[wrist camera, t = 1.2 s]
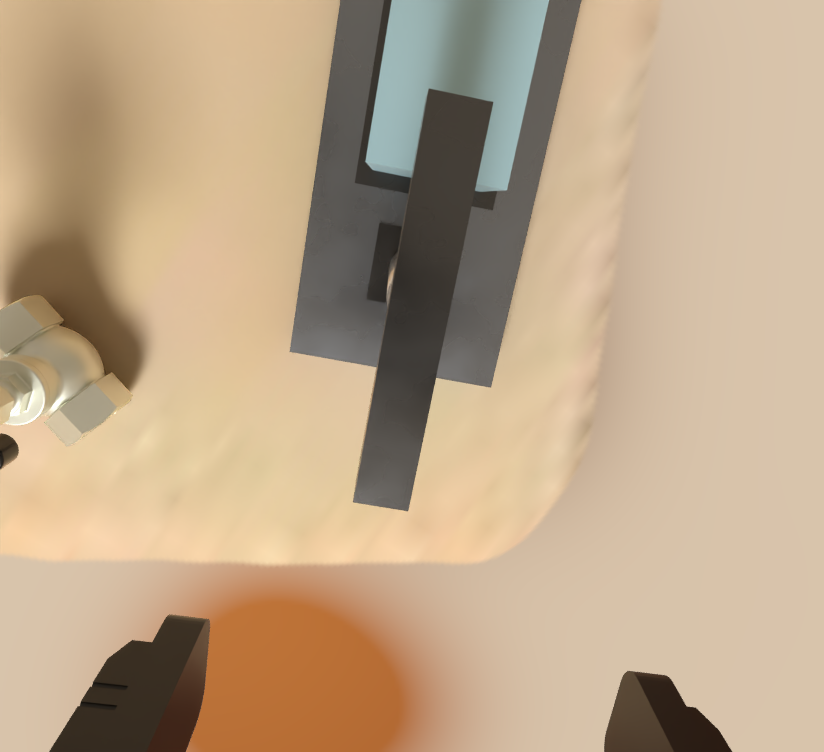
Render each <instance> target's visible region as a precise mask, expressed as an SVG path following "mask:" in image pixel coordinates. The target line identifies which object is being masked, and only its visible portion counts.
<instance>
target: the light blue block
mask: <svg viewBox="0 0 824 752" xmlns="http://www.w3.org/2000/svg"><path fill="white" fill-rule="evenodd" d="M548 3H549V0H392V2H391V8H390V14H389V20H388V26H387V33H386V39H385V45H384V51H383V57H382V63H381V69H380V75H379V82H378V88H377V94H376V100H375V106H374V112H373V118H372V124H371V131H370V137H369V143H368V149H367V155H366V161H365V162H366V163H367V164H368V165H369V166H370V168H371V169H372V170H375V171H380V172H385V173H390V174H395V175H400V176H405V177H410V178H411V176H412V170H413V165H414V160H415V154H416V149H417V143H418V138H419V132H420V127H421V121H422V116H423V110H424V105H425V99H426V96H427V92H428V89H429V88H430V89H435V90H439V91H444V92H449V93H454V94H458V95H463V96H468V97H472V98H477V99H482V100H487V101H491V102H493V107H492V112H491V116H490V121H489V126H488V131H487V135H486V140H485V145H484V150H483V155H482V159H481V164H480V169H479V174H478V179H477V183H476V188H475V191H479V192H487V191H503V190H507V188H508V183H509V179H510V174H511V170H512V165H513V161H514V156H515V152H516V147H517V143H518V138H519V134H520V129H521V125H522V120H523V116H524V111H525V106H526V102H527V97H528V93H529V88H530V84H531V79H532V75H533V70H534V66H535V61H536V57H537V52H538V48H539V43H540V39H541V34H542V30H543V25H544V21H545V16H546V12H547V7H548Z"/></svg>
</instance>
